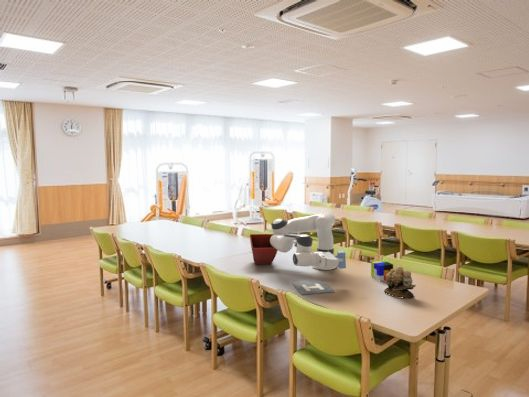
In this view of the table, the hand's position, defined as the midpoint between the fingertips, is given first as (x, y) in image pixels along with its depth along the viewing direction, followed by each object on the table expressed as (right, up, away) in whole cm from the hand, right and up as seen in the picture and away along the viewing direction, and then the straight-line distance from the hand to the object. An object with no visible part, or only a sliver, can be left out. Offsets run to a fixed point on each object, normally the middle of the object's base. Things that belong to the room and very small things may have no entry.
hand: (341, 258), depth 242 cm
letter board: (-18, -18, -4) cm, 26 cm away
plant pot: (-49, -9, +55) cm, 75 cm away
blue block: (0, -6, +1) cm, 6 cm away
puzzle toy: (+29, -15, +14) cm, 36 cm away
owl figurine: (+30, -18, -16) cm, 39 cm away
